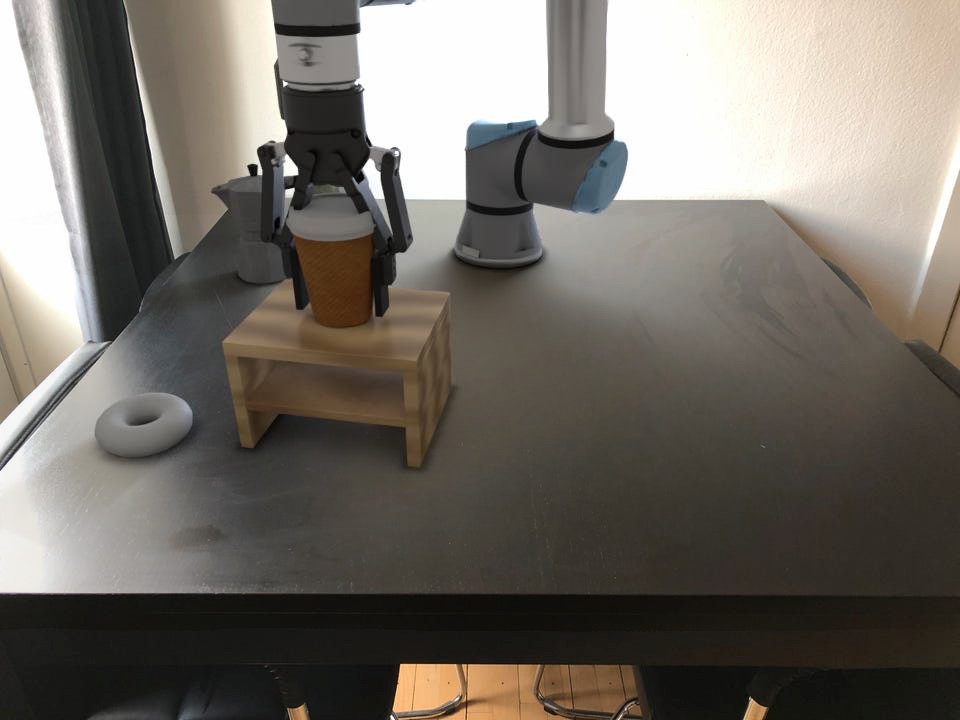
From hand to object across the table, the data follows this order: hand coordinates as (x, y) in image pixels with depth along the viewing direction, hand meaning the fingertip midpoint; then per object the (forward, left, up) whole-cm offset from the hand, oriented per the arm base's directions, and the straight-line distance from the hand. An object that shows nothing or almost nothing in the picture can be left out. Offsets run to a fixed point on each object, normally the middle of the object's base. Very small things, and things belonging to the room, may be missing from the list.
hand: (343, 307), depth 79 cm
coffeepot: (-38, -26, -14) cm, 48 cm away
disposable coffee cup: (0, 0, -1) cm, 1 cm away
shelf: (0, 0, -14) cm, 14 cm away
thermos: (-62, -26, -14) cm, 69 cm away
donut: (+8, -21, -14) cm, 27 cm away
